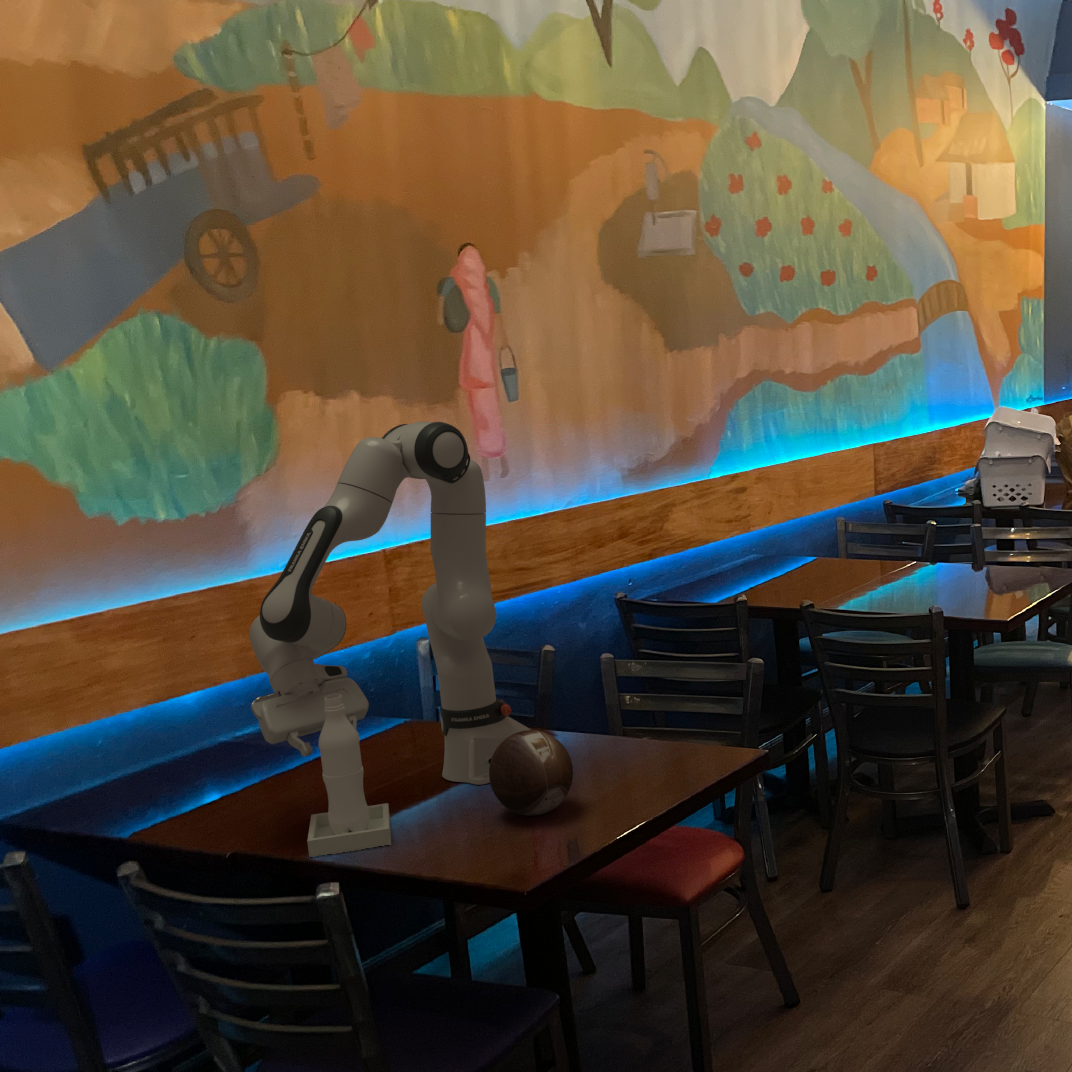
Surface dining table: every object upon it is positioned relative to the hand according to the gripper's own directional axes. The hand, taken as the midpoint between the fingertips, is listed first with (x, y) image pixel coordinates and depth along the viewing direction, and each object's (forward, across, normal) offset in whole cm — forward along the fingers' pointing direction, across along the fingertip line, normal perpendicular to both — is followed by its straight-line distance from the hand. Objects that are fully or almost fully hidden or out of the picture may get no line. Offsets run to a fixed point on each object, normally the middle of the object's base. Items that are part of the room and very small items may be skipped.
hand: (332, 746), depth 215 cm
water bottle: (+13, 0, +9) cm, 16 cm away
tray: (+14, 0, +9) cm, 16 cm away
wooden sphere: (+27, +27, -3) cm, 38 cm away
